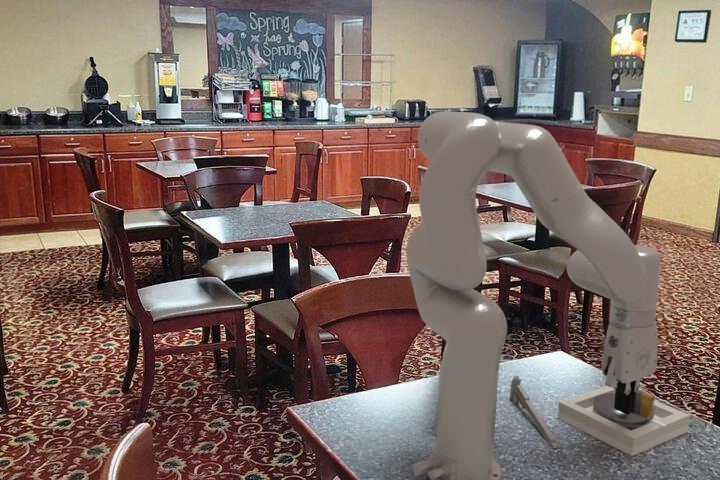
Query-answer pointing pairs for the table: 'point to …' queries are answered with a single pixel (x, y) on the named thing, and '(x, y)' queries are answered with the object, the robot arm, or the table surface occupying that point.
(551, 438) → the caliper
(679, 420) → the tray
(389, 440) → the table surface
